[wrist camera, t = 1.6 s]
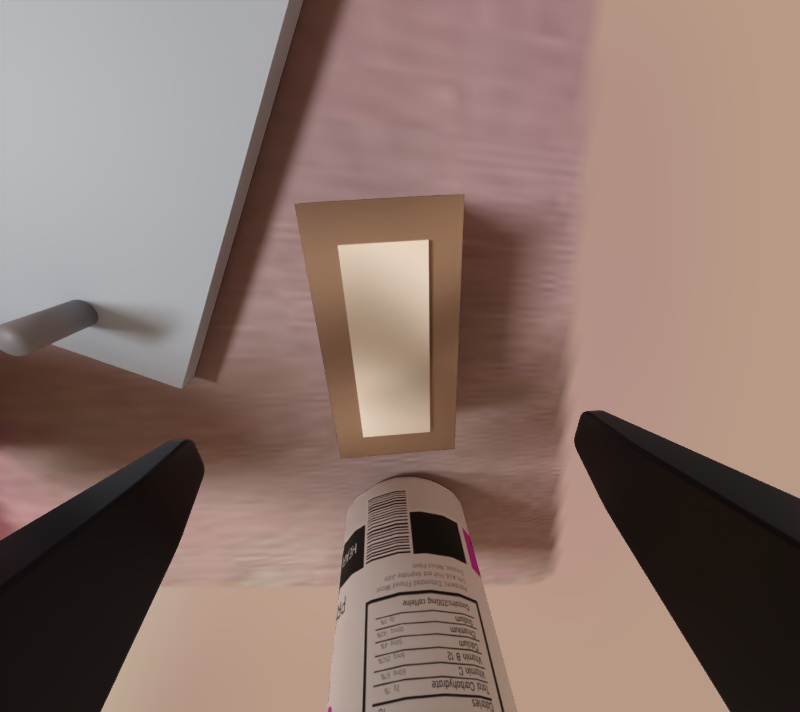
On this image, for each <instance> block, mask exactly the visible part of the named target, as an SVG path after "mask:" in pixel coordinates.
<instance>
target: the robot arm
mask: <svg viewBox="0 0 800 712" xmlns="http://www.w3.org/2000/svg"><path fill="white" fill-rule="evenodd" d="M574 443H575V447H576V450H577V452H578V454H579V456H580V458H581V460H582V462H583V464H584V466H585V468H586V470H587V472H588V474H589V476H590V478H591V480H592V482H593V484H594V486H595V488H596V491H597V492H598V495H599V497H600V499H601V500H602V502H603V504H604V506H605V508H606V510H607V512H608V513H609V515H610V517H611V518H612V520H613V522H614V523H615V525H616V527H617V528H618V530H619V532H620V533H621V535H622V536H623V538H624V540H625V541H626V543H627V545H628V546H629V548H630V549H631V551H632V553H633V554H634V556H635V557H636V559H637V561H638V563H639V564H640V566H641V567H642V569H643V571H644V572H645V574H646V576H647V577H648V579H649V580H650V582H651V584H652V585H653V587H654V588H655V590H656V592H657V593H658V595H659V597H660V598H661V600H662V602H663V603H664V605H665V606H666V608H667V610H668V611H669V613H670V615H671V616H672V617H673V619H674V621H675V623H676V624H677V626H678V628H679V629H680V631H681V633H682V634H683V636H684V637H685V639H686V641H687V642H688V644H689V646H690V647H691V649H692V650H693V652H694V654H695V655H696V657H697V658H698V660H699V662H700V663H701V665H702V666H703V668H704V670H705V672H706V673H707V675H708V676H709V678H710V680H711V681H712V683H713V684H714V686H715V688H716V689H717V691H718V693H719V694H720V696H721V698H722V699H723V701H724V702H725V704H726V706H727V707H728V709H729V711H730V712H800V498H797V497H795V496H793V495H791V494H788V493H786V492H784V491H782V490H779V489H777V488H775V487H773V486H770V485H768V484H766V483H764V482H761V481H759V480H757V479H755V478H753V477H750V476H748V475H746V474H744V473H741V472H739V471H737V470H734V469H732V468H730V467H728V466H726V465H723V464H721V463H719V462H717V461H714V460H712V459H710V458H708V457H705V456H703V455H701V454H699V453H696V452H694V451H692V450H690V449H688V448H685V447H683V446H681V445H678V444H676V443H674V442H672V441H670V440H667V439H665V438H663V437H661V436H658V435H656V434H654V433H652V432H649V431H647V430H645V429H642V428H640V427H638V426H635V425H634V424H631V423H629V422H627V421H624V420H622V419H620V418H618V417H616V416H613V415H611V414H609V413H607V412H604V411H600V410H598V411H586V412H583V413H582V415H581V417H580V420H579V423H578V427H577V431H576V434H575V438H574ZM203 476H204V464H203V462H202V460H201V457H200V455H199V453H198V450H197V448H196V446H195V443H194V442H193V441H192V440H190V439H178V440H170V441H168V442H166V443H164V444H163V445H161V446H159V447H158V448H156V449H154V450H153V451H151V452H149V453H148V454H146V455H144V456H142V457H141V458H139V459H137V460H136V461H134V462H132V463H131V464H129V465H127V466H126V467H124V468H122V469H120V470H119V471H117V472H115V473H114V474H112V475H110V476H109V477H107V478H105V479H104V480H102V481H100V482H99V483H97V484H95V485H93V486H92V487H90V488H88V489H87V490H85V491H83V492H82V493H80V494H78V495H77V496H75V497H73V498H72V499H70V500H68V501H66V502H65V503H63V504H61V505H60V506H58V507H56V508H55V509H53V510H51V511H50V512H48V513H46V514H45V515H43V516H41V517H39V518H38V519H36V520H34V521H33V522H31V523H29V524H28V525H26V526H24V527H23V528H21V529H19V530H17V531H16V532H14V533H12V534H11V535H9V536H7V537H6V538H4V539H2V540H1V541H0V712H101V710H102V708H103V705H104V703H105V701H106V699H107V697H108V695H109V693H110V691H111V688H112V686H113V684H114V682H115V680H116V678H117V676H118V673H119V671H120V669H121V667H122V665H123V663H124V661H125V659H126V656H127V654H128V652H129V650H130V648H131V646H132V644H133V641H134V639H135V637H136V635H137V633H138V631H139V629H140V627H141V624H142V622H143V620H144V618H145V616H146V614H147V612H148V610H149V607H150V605H151V603H152V601H153V599H154V597H155V594H156V592H157V590H158V588H159V586H160V584H161V582H162V580H163V578H164V576H165V573H166V571H167V569H168V567H169V565H170V563H171V561H172V558H173V556H174V554H175V552H176V549H177V547H178V545H179V542H180V540H181V537H182V535H183V532H184V529H185V527H186V524H187V521H188V518H189V516H190V513H191V510H192V507H193V504H194V502H195V499H196V496H197V493H198V490H199V488H200V485H201V482H202V479H203Z"/></svg>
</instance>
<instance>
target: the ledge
mask: <svg viewBox="0 0 800 712" xmlns="http://www.w3.org/2000/svg"><path fill="white" fill-rule="evenodd" d="M302 3H303V0H0V350H2V351H3V352H5V353H7V354H10V355H13V356H25V355H27V354H30V353H32V352H34V351H36V350H38V349H41V348H43V347H45V346H47V345H50V344H52V345H55V346H58V347H61V348H64V349H67V350H69V351H72V352H75V353H78V354H81V355H84V356H87V357H90V358H93V359H96V360H98V361H101V362H104V363H107V364H110V365H113V366H116V367H119V368H122V369H124V370H127V371H130V372H133V373H136V374H139V375H142V376H145V377H148V378H151V379H153V380H156V381H159V382H162V383H165V384H168V385H171V386H174V387H177V388H180V389H182V388H183V387H184V386H185V385H186V384H187V383H188V382H189V381H190V380H191V379H192V378H193V377H194V375H195V372H196V368H197V365H198V361H199V358H200V355H201V351H202V348H203V344H204V341H205V337H206V334H207V330H208V327H209V324H210V320H211V317H212V313H213V310H214V306H215V303H216V299H217V296H218V293H219V289H220V286H221V282H222V279H223V275H224V272H225V268H226V265H227V262H228V258H229V255H230V251H231V248H232V244H233V241H234V237H235V234H236V231H237V227H238V224H239V220H240V217H241V213H242V210H243V206H244V203H245V200H246V196H247V193H248V189H249V186H250V182H251V179H252V175H253V172H254V169H255V165H256V162H257V158H258V155H259V151H260V148H261V144H262V141H263V138H264V134H265V131H266V127H267V124H268V120H269V117H270V113H271V110H272V107H273V103H274V100H275V96H276V93H277V89H278V86H279V82H280V79H281V76H282V72H283V69H284V65H285V62H286V58H287V55H288V51H289V48H290V45H291V41H292V38H293V34H294V31H295V27H296V24H297V20H298V17H299V14H300V10H301V7H302Z"/></svg>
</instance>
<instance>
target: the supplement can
mask: <svg viewBox="0 0 800 712" xmlns="http://www.w3.org/2000/svg"><path fill="white" fill-rule="evenodd" d="M327 712H517V709H516V705H515V702H514V698H513V694H512V691H511V687H510V683H509V679H508V676H507V672H506V668H505V665H504V661H503V657H502V654H501V650H500V646H499V642H498V639H497V635H496V631H495V627H494V624H493V620H492V616H491V613H490V609H489V606H488V602H487V598H486V594H485V591H484V587H483V583H482V580H481V576H480V572H479V568H478V565H477V561H476V557H475V554H474V550H473V546H472V543H471V539H470V535H469V532H468V528H467V524H466V520H465V517H464V513H463V509H462V506H461V503H460V502H459V500H458V499H457V498H456V496H455V495H454V494H453V492H452V491H450V490H448V489H446V488H445V487H443V486H441V485H439V484H437V483H435V482H433V481H431V480H427V479H423V478H418V477H395V478H392V479H389V480H386V481H382V482H379V483H377V484H376V485H374V486H373V487H371V488H370V489H368V490H367V491H365V492H364V493H362V494H361V495H359V496H358V497H357V498H356V499H355V501H354V502H353V504H352V505H351V506H350V508H349V509H348V511H347V519H346V526H345V536H344V547H343V557H342V567H341V577H340V587H339V597H338V608H337V618H336V628H335V638H334V648H333V658H332V669H331V679H330V690H329V699H328V710H327Z"/></svg>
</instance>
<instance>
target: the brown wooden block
mask: <svg viewBox="0 0 800 712" xmlns="http://www.w3.org/2000/svg"><path fill="white" fill-rule="evenodd" d="M295 210H296V215H297V221H298V226H299V232H300V237H301V242H302V248H303V253H304V259H305V264H306V270H307V275H308V281H309V286H310V292H311V297H312V303H313V308H314V314H315V319H316V325H317V330H318V336H319V341H320V346H321V352H322V357H323V363H324V368H325V374H326V379H327V385H328V390H329V396H330V401H331V407H332V412H333V418H334V423H335V429H336V434H337V440H338V445H339V451H340V456H341V458H352V457H364V456H376V455H387V454H399V453H411V452H423V451H435V450H447V449H455V424H456V398H457V372H458V346H459V320H460V294H461V268H462V242H463V216H464V194H460V195H433V196H415V197H397V198H379V199H362V200H344V201H326V202H312V203H300V204H295Z"/></svg>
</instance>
